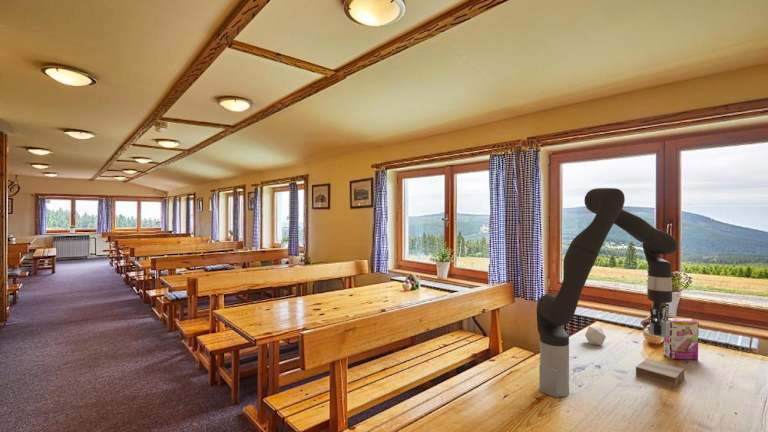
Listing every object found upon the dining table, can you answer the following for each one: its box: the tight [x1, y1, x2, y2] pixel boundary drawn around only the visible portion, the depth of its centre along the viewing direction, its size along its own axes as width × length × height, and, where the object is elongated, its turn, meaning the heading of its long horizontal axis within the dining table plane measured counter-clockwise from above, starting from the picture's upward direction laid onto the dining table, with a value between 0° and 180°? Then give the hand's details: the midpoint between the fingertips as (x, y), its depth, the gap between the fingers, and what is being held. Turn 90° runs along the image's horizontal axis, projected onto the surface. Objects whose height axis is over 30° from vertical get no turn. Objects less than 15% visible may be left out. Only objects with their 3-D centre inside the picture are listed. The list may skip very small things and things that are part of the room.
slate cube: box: [649, 319, 670, 338], centre depth 138 cm, size 5×5×5 cm
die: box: [584, 326, 607, 347], centre depth 173 cm, size 8×9×10 cm
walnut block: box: [635, 358, 685, 389], centre depth 138 cm, size 12×12×4 cm
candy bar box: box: [662, 317, 700, 361], centre depth 156 cm, size 11×5×16 cm, turn 84°
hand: (659, 333), depth 138 cm, fingers closed on slate cube, 5 cm apart
